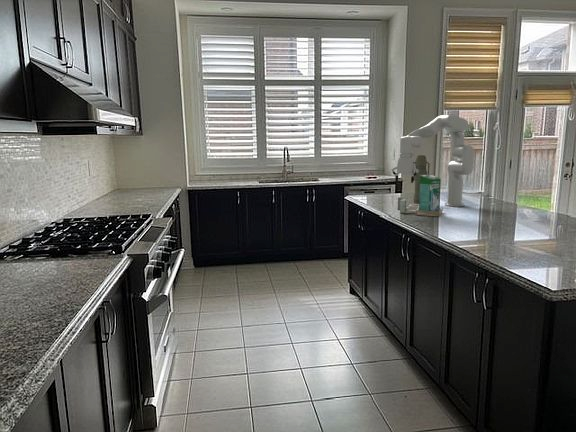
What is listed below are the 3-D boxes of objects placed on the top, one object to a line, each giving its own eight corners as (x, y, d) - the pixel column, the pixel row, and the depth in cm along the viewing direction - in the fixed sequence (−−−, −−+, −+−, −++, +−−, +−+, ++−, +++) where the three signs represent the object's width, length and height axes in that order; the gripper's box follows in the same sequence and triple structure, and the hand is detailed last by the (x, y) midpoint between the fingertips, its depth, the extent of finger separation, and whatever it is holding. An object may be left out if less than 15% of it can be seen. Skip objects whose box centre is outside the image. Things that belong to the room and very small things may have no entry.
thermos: (429, 204, 317) (431, 155, 310) (412, 204, 318) (413, 156, 312) (427, 202, 325) (428, 155, 319) (410, 202, 327) (412, 155, 320)
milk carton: (429, 215, 276) (430, 176, 272) (418, 213, 284) (419, 175, 280) (439, 214, 280) (441, 175, 276) (429, 212, 288) (430, 174, 284)
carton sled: (402, 210, 296) (403, 198, 295) (442, 212, 286) (442, 200, 284) (398, 213, 284) (398, 201, 282) (439, 216, 273) (439, 203, 271)
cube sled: (399, 207, 306) (399, 196, 304) (421, 208, 299) (421, 197, 298) (397, 209, 299) (397, 197, 298) (419, 210, 293) (419, 198, 291)
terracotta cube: (412, 209, 300) (412, 203, 300) (418, 209, 299) (418, 203, 298) (411, 210, 297) (411, 204, 296) (417, 210, 295) (417, 204, 294)
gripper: (420, 155, 282) (419, 182, 285) (393, 155, 290) (392, 181, 293) (418, 156, 276) (417, 183, 279) (390, 155, 283) (389, 182, 286)
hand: (404, 182), depth 286 cm, fingers open, 9 cm apart
